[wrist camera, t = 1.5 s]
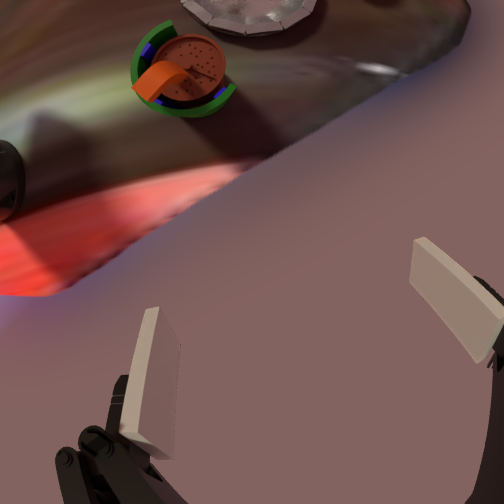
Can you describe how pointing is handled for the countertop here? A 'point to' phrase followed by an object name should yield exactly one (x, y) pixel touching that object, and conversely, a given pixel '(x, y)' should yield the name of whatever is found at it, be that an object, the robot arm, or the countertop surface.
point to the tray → (249, 15)
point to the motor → (180, 73)
